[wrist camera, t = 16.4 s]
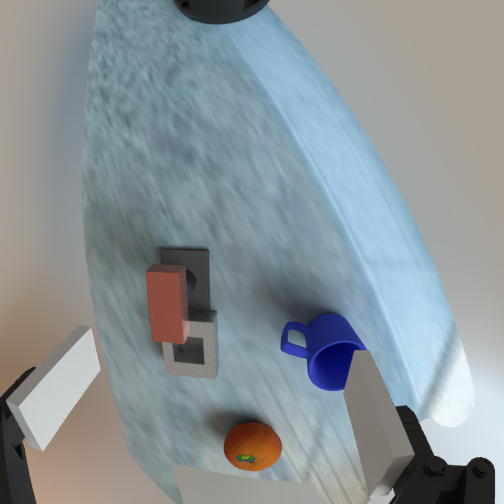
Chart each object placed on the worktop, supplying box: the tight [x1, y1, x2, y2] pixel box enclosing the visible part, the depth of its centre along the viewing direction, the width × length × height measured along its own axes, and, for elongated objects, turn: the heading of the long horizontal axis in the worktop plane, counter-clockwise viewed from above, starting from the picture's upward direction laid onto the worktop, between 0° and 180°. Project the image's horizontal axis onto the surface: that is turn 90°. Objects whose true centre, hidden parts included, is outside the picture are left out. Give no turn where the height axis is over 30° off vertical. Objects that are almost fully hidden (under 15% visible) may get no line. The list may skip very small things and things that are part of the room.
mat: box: [160, 249, 210, 310], centre depth 45 cm, size 9×7×1 cm
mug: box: [281, 313, 367, 391], centre depth 42 cm, size 8×12×10 cm
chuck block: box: [162, 310, 219, 379], centre depth 47 cm, size 10×8×4 cm
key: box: [146, 264, 197, 344], centre depth 40 cm, size 4×9×10 cm, turn 179°
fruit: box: [224, 422, 282, 471], centre depth 49 cm, size 11×10×8 cm
